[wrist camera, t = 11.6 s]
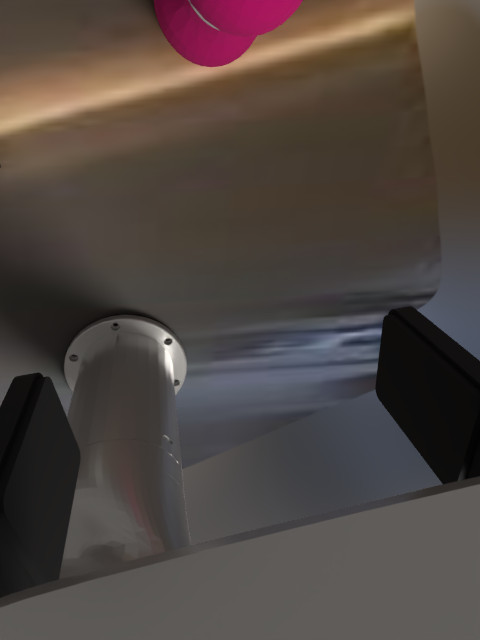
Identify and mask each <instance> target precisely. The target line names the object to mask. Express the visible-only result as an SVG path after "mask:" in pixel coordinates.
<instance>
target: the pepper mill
mask: <svg viewBox="0 0 480 640" xmlns="http://www.w3.org/2000/svg"><path fill="white" fill-rule="evenodd" d="M302 1H303V0H154V7H155V11H156V16H157V19H158V22H159V25H160V27H161V30H162V31H163V33H164V35H165V37H166V39H167V40H168V42H169V43H170V44H171V46H172V47H173V48H174V49H175V50H176V51H177V52H178V53H179V54H180V55H181V56H183V57H184V58H185V59H187V60H189V61H191V62H192V63H195V64H198V65H201V66H207V67H217V66H223V65H226V64H229V63H231V62H233V61H234V60H236V59H237V58H239V57H240V56H241V55H242V54H243V53H244V52H245V51H246V50H247V49H248V48H249V47H250V46H251V44H252V42H253V41H254V39H255V38H256V36H257V35H261V34H264V33H267V32H269V31H272V30H274V29H275V28H277V27H278V26H280V25H281V24H283V23H284V22H285V21H286V20H287V19H288V18H289V17H290V16H291V15H292V14H293V13H294V12H295V11H296V10H297V8H298V7H299V5H300V4H301V2H302Z"/></svg>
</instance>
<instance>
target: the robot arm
mask: <svg viewBox="0 0 480 640" xmlns="http://www.w3.org/2000/svg"><path fill="white" fill-rule="evenodd" d="M114 323H117V324H114ZM166 338H169V339H166ZM186 372H187V360H186V355H185V350H184V348H183V346H182V344H181V342H180V340H179V339H178V338H177V336H176V335H175V334H174V333H173V332H172V331H171V330H170V329H168V328H167V327H166V326H164V325H162V324H161V323H159V322H157V321H154V320H152V319H149V318H146V317H141V316H136V315H117V316H110V317H107V318H103V319H100V320H98V321H96V322H94V323H92V324H90V325H88V326H87V327H85V328H84V329H83V330H81V331H80V332H79V333H78V334H77V336H76V337H75V338H74V339H73V340H72V342H71V344H70V346H69V348H68V350H67V353H66V356H65V362H64V373H65V378H66V381H67V384H68V386H69V388H70V389H71V391H72V392H73V395H72V399H71V403H70V407H69V411H68V415H67V417H66V414H65V412H64V410H63V407H62V405H61V402H60V400H59V397H58V395H57V392H56V390H55V388H54V385H53V383H52V380H51V379H50V377H43V375H42V374H41V373H33V374H28V375H22V376H17V377H15V378H14V379H13V381H12V383H11V385H10V387H9V389H8V392H7V394H6V396H5V398H4V400H3V402H2V404H1V406H0V640H480V361H479V360H478V359H477V358H475V357H474V356H473V355H472V354H470V353H469V352H468V351H467V350H465V349H464V348H463V347H462V346H461V345H459V344H458V343H457V342H455V341H454V340H453V339H452V338H451V337H449V336H448V335H447V334H445V333H444V332H443V331H442V330H441V329H439V328H438V327H437V326H436V325H434V324H433V323H432V322H431V321H430V320H428V319H427V318H426V317H425V316H423V315H422V314H421V313H420V312H418V311H417V310H416V309H415V308H413V307H403V308H398V309H392V310H390V312H389V313H388V315H386V316H385V317H384V320H383V327H382V336H381V344H380V353H379V362H378V370H377V379H376V393H377V396H378V398H379V400H380V401H381V402H382V404H383V405H384V407H385V408H386V409H387V411H388V412H389V413H390V415H391V416H392V417H393V419H394V420H395V421H396V423H397V424H398V425H399V427H400V428H401V429H402V430H403V432H404V433H405V434H406V436H407V437H408V438H409V440H410V441H411V442H412V444H413V445H414V446H415V448H416V449H417V450H418V452H419V453H420V454H421V456H422V457H423V458H424V460H425V461H426V462H427V464H428V465H429V466H430V468H431V469H432V470H433V472H434V473H435V474H436V476H437V477H438V478H439V480H440V481H441V482H442V484H443V485H439V486H434V487H430V488H426V489H422V490H418V491H414V492H409V493H405V494H401V495H397V496H392V497H388V498H384V499H380V500H375V501H371V502H367V503H363V504H359V505H354V506H350V507H346V508H343V509H338V510H334V511H330V512H326V513H322V514H317V515H313V516H309V517H305V518H301V519H297V520H292V521H288V522H285V523H280V524H276V525H272V526H268V527H264V528H260V529H256V530H251V531H248V532H243V533H239V534H235V535H231V536H227V537H223V538H219V539H215V540H211V541H207V542H203V543H199V544H195V545H191V540H190V534H189V528H188V522H187V515H186V506H185V497H184V487H183V477H182V466H181V455H180V444H179V432H178V421H177V410H176V399H175V395H176V394H177V393H178V391H179V390H180V388H181V387H182V385H183V383H184V380H185V378H186Z"/></svg>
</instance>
